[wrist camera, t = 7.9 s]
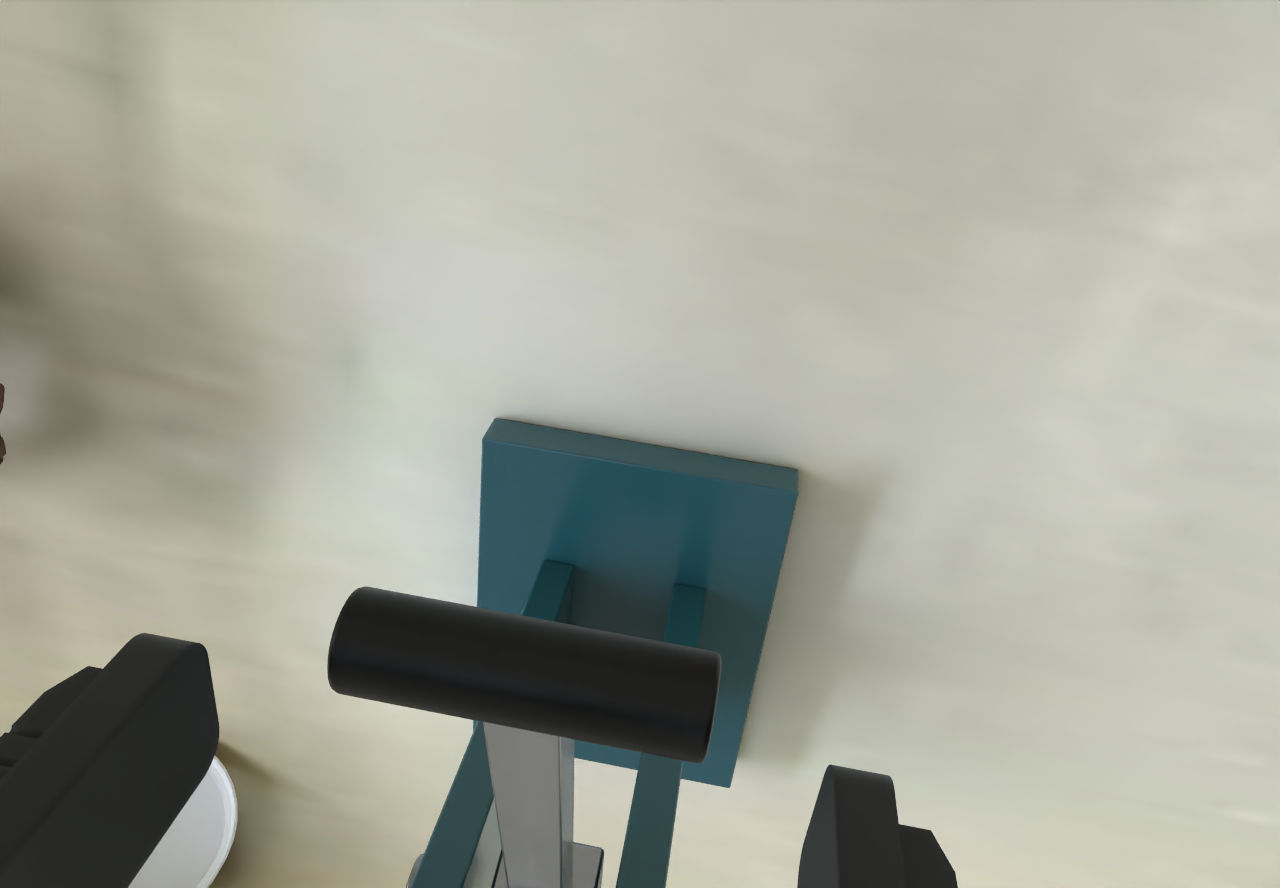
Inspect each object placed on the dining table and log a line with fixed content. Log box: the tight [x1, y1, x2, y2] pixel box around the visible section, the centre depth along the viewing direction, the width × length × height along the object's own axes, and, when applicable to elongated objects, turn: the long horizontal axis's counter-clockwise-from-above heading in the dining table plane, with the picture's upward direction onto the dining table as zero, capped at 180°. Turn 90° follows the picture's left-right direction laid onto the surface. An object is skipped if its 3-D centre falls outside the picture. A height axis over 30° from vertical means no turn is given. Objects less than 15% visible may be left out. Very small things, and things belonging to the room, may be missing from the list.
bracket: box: [406, 418, 798, 888], centre depth 25 cm, size 12×9×13 cm
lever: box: [328, 587, 722, 888], centre depth 17 cm, size 13×5×2 cm, turn 171°
